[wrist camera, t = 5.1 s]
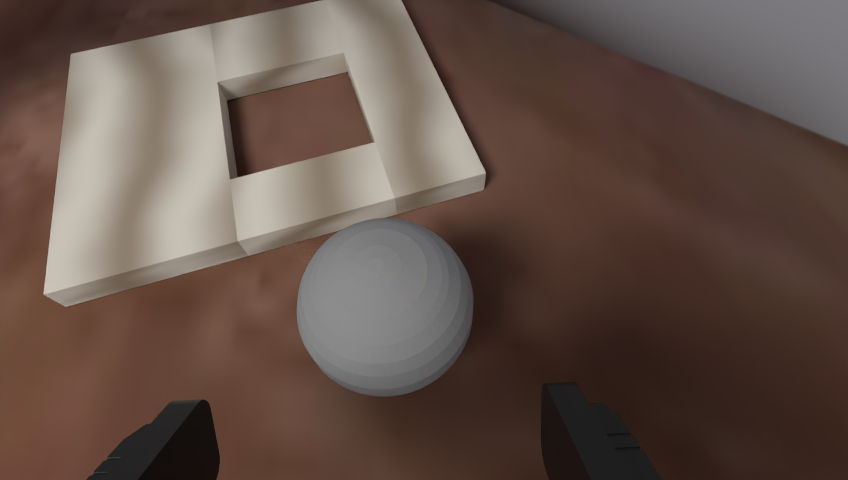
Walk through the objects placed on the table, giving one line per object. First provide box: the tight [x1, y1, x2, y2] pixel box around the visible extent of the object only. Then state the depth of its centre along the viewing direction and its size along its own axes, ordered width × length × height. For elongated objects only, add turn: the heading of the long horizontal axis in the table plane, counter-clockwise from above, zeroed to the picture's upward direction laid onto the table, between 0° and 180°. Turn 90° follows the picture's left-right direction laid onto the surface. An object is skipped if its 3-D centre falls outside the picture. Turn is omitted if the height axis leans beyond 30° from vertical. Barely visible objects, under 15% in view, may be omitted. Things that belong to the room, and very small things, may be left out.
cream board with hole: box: [44, 0, 486, 307], centre depth 28 cm, size 22×18×2 cm
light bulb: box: [297, 218, 473, 396], centre depth 17 cm, size 6×6×10 cm
